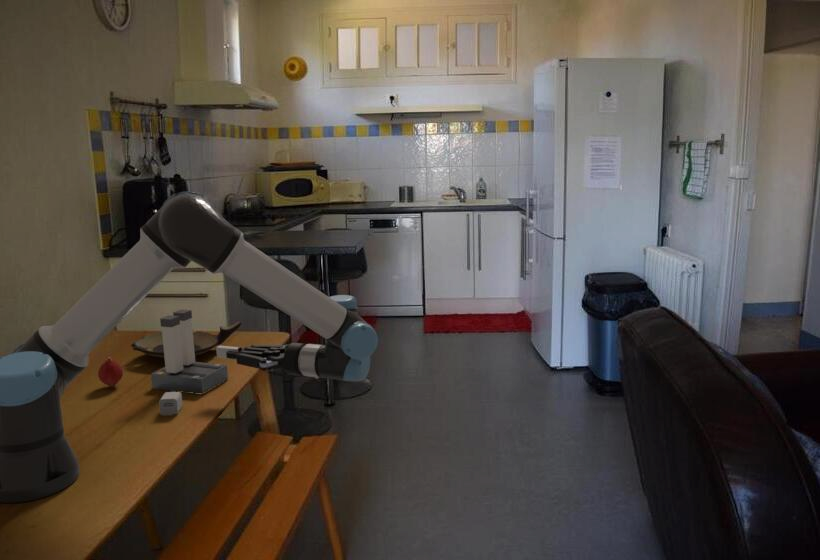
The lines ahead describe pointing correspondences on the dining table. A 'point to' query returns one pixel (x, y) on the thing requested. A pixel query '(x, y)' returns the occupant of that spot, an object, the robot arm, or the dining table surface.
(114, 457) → the dining table surface
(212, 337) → the broken bowl
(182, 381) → the console
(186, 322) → the white capped post
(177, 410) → the usb wall charger
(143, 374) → the dining table surface
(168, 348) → the grey square post
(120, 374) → the onion
